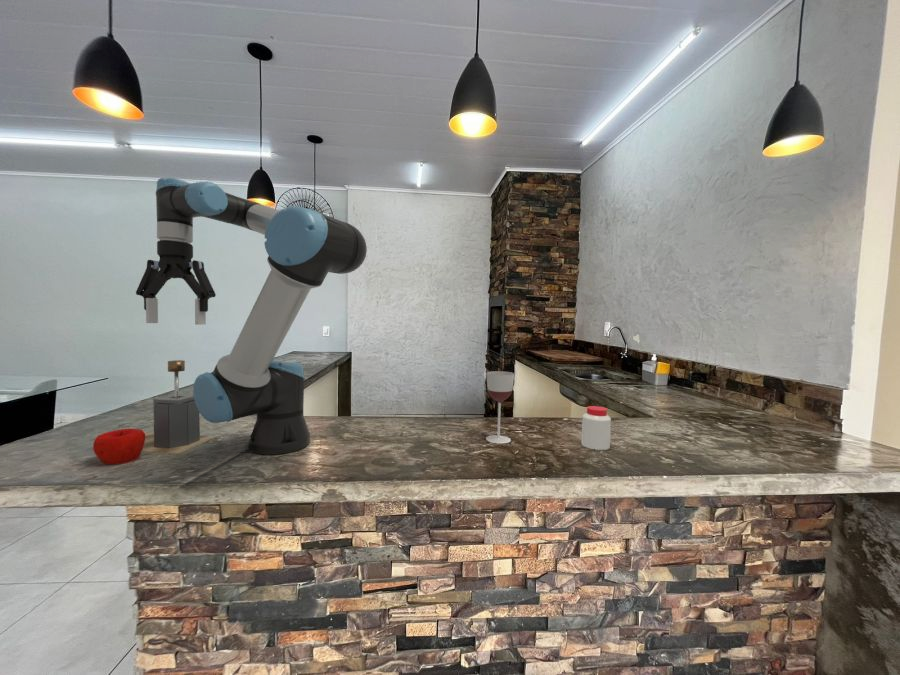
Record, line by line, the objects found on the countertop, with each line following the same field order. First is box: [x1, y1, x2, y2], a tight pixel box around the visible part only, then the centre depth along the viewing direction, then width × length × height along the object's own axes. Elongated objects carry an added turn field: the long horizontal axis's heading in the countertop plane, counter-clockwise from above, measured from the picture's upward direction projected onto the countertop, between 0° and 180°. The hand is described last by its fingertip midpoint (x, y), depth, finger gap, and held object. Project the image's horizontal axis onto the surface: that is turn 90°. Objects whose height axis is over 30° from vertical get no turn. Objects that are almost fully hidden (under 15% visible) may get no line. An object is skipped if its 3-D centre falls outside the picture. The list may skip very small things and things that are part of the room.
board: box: [142, 432, 216, 454], centre depth 98 cm, size 22×13×1 cm, turn 85°
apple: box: [92, 428, 146, 465], centre depth 86 cm, size 9×9×8 cm
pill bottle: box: [580, 405, 612, 451], centre depth 108 cm, size 8×8×11 cm
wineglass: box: [485, 370, 515, 444], centre depth 111 cm, size 8×9×20 cm
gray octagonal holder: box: [152, 393, 201, 448], centre depth 99 cm, size 10×12×12 cm
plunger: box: [167, 359, 186, 398], centre depth 98 cm, size 7×7×20 cm
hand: (176, 323), depth 97 cm, fingers open, 13 cm apart
